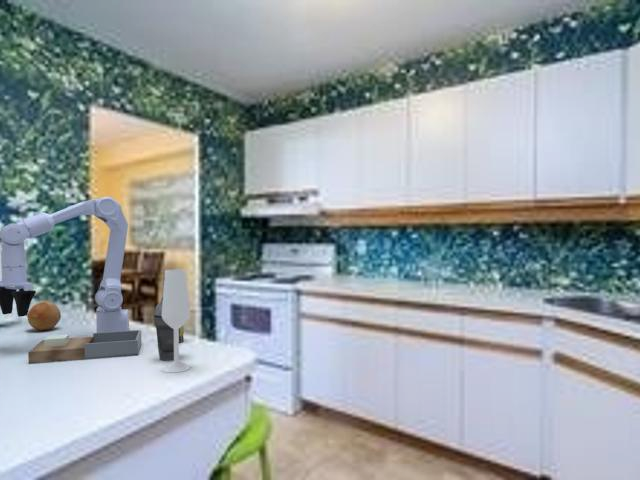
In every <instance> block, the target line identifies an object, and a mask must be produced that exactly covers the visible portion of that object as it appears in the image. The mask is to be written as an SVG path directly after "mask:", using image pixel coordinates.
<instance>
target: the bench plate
mask: <svg viewBox="0 0 640 480" xmlns="http://www.w3.org/2000/svg"><path fill="white" fill-rule="evenodd" d="M87 343H93V336H80V337H79V336H78V337H69V342H68V343H67V344H66V345H65V346H52V347H44V339H43V340H41V341H40V342H38V344H36V345H35V346H34V347H33V348H31V349H30V350H29V351H28V352H27V353H28V355H27V356H28V357H27V358H28V365H30V364H42V363H43V364H44V363H53V362H54V363H55V361H57V362H67V361H66V360H70V361H78V360H79V361H82V360H86V359H85V344H87Z"/></svg>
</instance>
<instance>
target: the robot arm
mask: <svg viewBox="0 0 640 480" xmlns="http://www.w3.org/2000/svg"><path fill="white" fill-rule="evenodd" d="M122 209H123V208H122V205H121V204H120V203H119V202H118V201H117V200H116V199H115V198H113V197H111V196H102V197H100V198H94V199H90V200H85V201H80V202H78V203H76V204H73V205H70V206H68V207H65V208H63V209H61V210H58V211H55V212H53V213H51V214H49V213H46V212H44V211H43V212H40V213H39V211H37V212H36V211H35V212H34V213H33V215H31V216H29V217H25V218H22V219H20V218H19V219H16V220H15V223H14V222H13V223H9V224H7V225H5V226H4V227H2V228H1V230H0V239H1V241H2V242H1V244H0V246H1V250H0V258H1V259H0V262H1V280H0V310H1V313H2V315H9V314H13V309H14V302H15V306H16V314H17V317H27V315H28V313H29V311H30V306H31V303H32V301H33V298H34V296H35V295H36V293H37V291H36V290H34V283H33V282H28V281H27V263H26V249H25V240H26V239H29V240H30V239H33V238H36V237H38V236H41V235H43V234H45V233H49V232H51V231H53V229H54V227H55V225H56V224H59V223H62V222H65V221H67V220H71V219H74V218H76V217H79V216H81V215H85V216H94V217H95V218H97V219H99V220H101V221H102V222H104V224H105V225H106V226H107V227H108V229H109V235H108V243H107V248H106V255H105V262H104V268H103V269H104V270H103V277H102V279H101V281H100V284H99V289H98V290H97V291H96V293H95V296H94V300H95V303H96V304H97V305H98V306H97V308H96V309H95V310H96V312H95V313H96V314H95V315H96V316H95V317H96V333H103V332H118V331H131V330H130V329H131V328H130V315H129V314H130V311H129V309H122V308H123V307H122V304H123V301H124V297H123V295H122V283H121V275H122V269H123V265H124V264H123V262H124V256H125V250H126V244H127V235H128V227H129V223H128V221H127V218H126V217H125V214H124V212H123V210H122Z"/></svg>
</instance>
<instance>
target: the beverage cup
mask: <svg viewBox="0 0 640 480" xmlns="http://www.w3.org/2000/svg"><path fill="white" fill-rule="evenodd" d="M162 289H163V291H164V282H162ZM163 291H162V292H163ZM162 303H163V301H161V300H160V301H159V302H158V303H157V305H156V306H155V309H154V312H153V320H154V324H155V331H156V339H157V349H158V357H159V360H160V361H163V362H167V361H168V362H169V361H174V329H173V328H171V327H170V326H168V325H167V324H166V323H165V322H164V320H163V319H162V316H161V315H162ZM179 333H180V328H179Z"/></svg>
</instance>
